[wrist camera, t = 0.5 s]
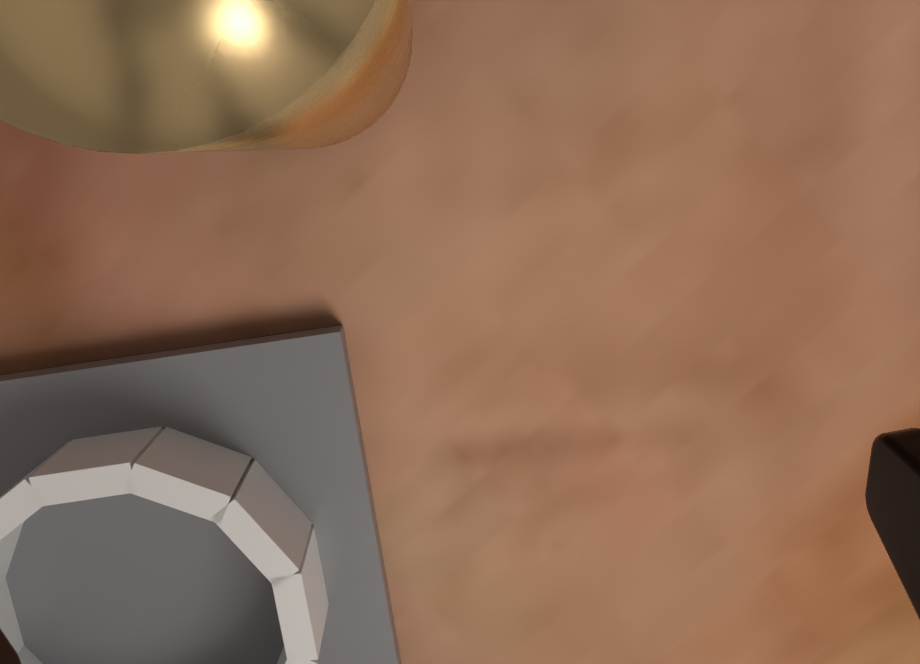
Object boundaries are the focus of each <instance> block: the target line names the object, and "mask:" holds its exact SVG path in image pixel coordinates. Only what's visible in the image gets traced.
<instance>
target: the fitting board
mask: <svg viewBox="0 0 920 664" xmlns="http://www.w3.org/2000/svg"><path fill="white" fill-rule="evenodd" d="M0 628H1V630H2V631H3V633H4V634H5V636H6V637H7V639H8V640H9V642H10V643H11V645H12V646H13V648H14V649H15V651H16V652H17V654H18V656H19V658H20V661H21V664H401V660H400V654H399V649H398V643H397V637H396V631H395V625H394V620H393V614H392V608H391V602H390V596H389V591H388V585H387V579H386V573H385V567H384V561H383V556H382V550H381V544H380V538H379V532H378V527H377V521H376V515H375V509H374V503H373V498H372V492H371V486H370V480H369V474H368V469H367V463H366V457H365V451H364V445H363V440H362V434H361V428H360V422H359V416H358V410H357V405H356V399H355V393H354V387H353V381H352V376H351V370H350V364H349V358H348V352H347V347H346V341H345V335H344V329H343V325H340V326H333V327H326V328H319V329H313V330H306V331H299V332H292V333H285V334H278V335H272V336H265V337H258V338H251V339H244V340H237V341H230V342H224V343H217V344H210V345H203V346H196V347H189V348H183V349H176V350H169V351H162V352H155V353H148V354H141V355H135V356H128V357H121V358H114V359H107V360H100V361H94V362H87V363H80V364H73V365H66V366H59V367H52V368H46V369H39V370H32V371H25V372H18V373H11V374H4V375H0Z"/></svg>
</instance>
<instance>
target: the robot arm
mask: <svg viewBox="0 0 920 664" xmlns="http://www.w3.org/2000/svg"><path fill="white" fill-rule="evenodd" d="M865 497H866V505H867V509H868V512H869V515H870V518H871V520H872V522H873V524H874V526H875V528H876V530H877V532H878V534H879V537H880V539H881V541H882V543H883V545H884V547H885V549H886V551H887V553H888V555H889V557H890V559H891V561H892V563H893V566H894V568H895V570H896V572H897V574H898V576H899V578H900V580H901V582H902V584H903V586H904V588H905V590H906V592H907V594H908V597H909V599H910V601H911V603H912V605H913V607H914V609H915V611H916V613H917V615H918V617H919V619H920V429H919V428H909V429H904V430H898V431H893V432H888V433H883V434H880V435H878V436H877V437H876V438H875V440H874V442H873V445H872V449H871V456H870V464H869V471H868V478H867V485H866V494H865ZM0 664H21V661H20V658H19V656H18V654H17V652H16V651H15V649H14V648H13V646H12V645H11V643H10V642H9V640H8V639H7V637H6V636H5V634H4V633H3V631H2V630H1V628H0Z"/></svg>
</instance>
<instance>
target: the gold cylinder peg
mask: <svg viewBox="0 0 920 664" xmlns="http://www.w3.org/2000/svg"><path fill="white" fill-rule="evenodd" d="M411 52H412V7H411V0H0V120H1V121H3V122H5V123H8V124H10V125H12V126H14V127H16V128H18V129H21V130H23V131H25V132H27V133H30V134H33V135H36V136H39V137H42V138H45V139H48V140H52V141H55V142H58V143H61V144H64V145H69V146H74V147H80V148H85V149H90V150H96V151H101V152H119V153H136V154H140V153H171V152H203V151H234V150H265V149H297V148H316V147H324V146H328V145H333V144H336V143H339V142H342V141H345V140H348V139H350V138H352V137H353V136H355V135H357V134H359V133H361V132H362V131H364V130H365V129H367V128H368V127H369V126H371V125H372V124H373V123H374V122H375V121H376V120H378V119H379V118H380V117H381V116H382V115H383V114H384V112H385V111H386V110H387V109H388V108H389V106H390V105H391V104H392V102H393V101H394V99H395V97H396V96H397V94H398V93H399V91H400V88H401V86H402V84H403V82H404V80H405V77H406V74H407V70H408V67H409V63H410V57H411Z"/></svg>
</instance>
